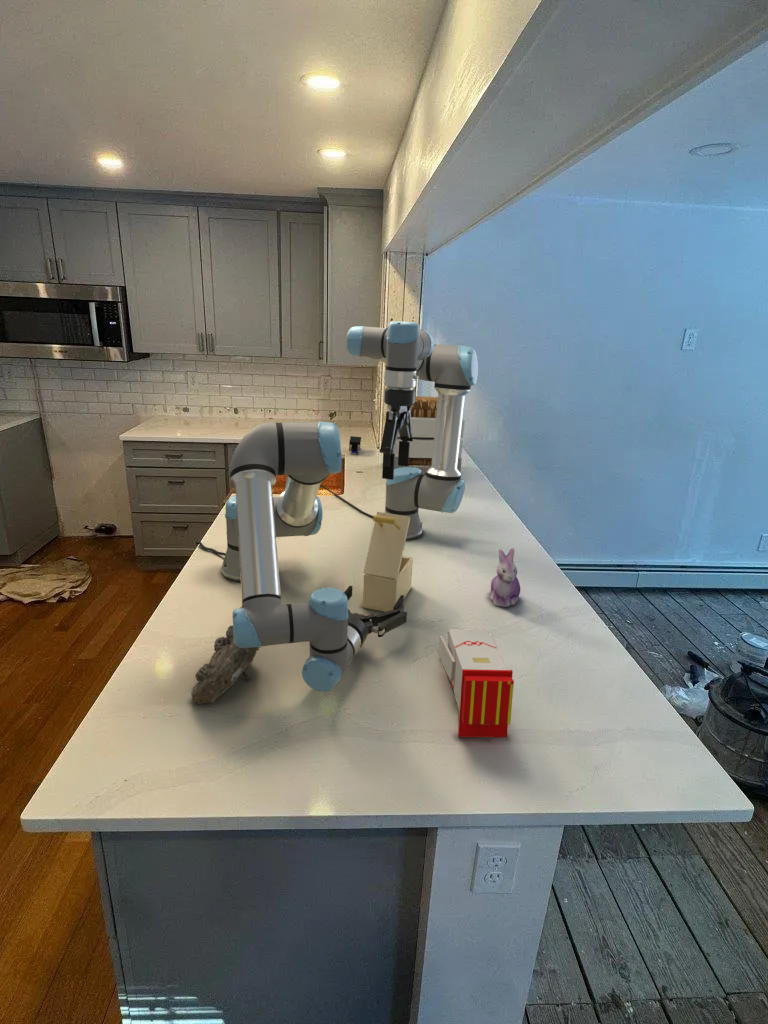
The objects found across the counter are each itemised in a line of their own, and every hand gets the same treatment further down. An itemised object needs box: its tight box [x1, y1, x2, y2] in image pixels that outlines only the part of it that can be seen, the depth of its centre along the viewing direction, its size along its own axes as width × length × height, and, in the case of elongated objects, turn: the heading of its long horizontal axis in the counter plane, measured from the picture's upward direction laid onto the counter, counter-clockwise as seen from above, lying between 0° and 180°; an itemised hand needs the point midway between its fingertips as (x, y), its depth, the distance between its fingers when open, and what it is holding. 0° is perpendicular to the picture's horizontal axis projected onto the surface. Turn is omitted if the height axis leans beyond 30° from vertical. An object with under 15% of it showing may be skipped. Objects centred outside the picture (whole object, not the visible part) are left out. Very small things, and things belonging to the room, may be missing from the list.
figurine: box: [489, 547, 521, 608], centre depth 154 cm, size 9×10×15 cm
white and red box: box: [437, 628, 515, 738], centre depth 117 cm, size 12×13×30 cm
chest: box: [362, 555, 414, 613], centre depth 154 cm, size 16×9×9 cm, turn 162°
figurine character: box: [348, 435, 362, 455], centre depth 308 cm, size 7×8×15 cm
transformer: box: [386, 396, 465, 474], centre depth 268 cm, size 34×33×41 cm
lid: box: [362, 511, 410, 580], centre depth 144 cm, size 17×9×8 cm
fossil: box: [191, 624, 260, 705], centre depth 119 cm, size 22×10×15 cm
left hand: (376, 595), depth 143 cm, fingers open, 13 cm apart
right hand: (395, 472), depth 145 cm, fingers open, 13 cm apart
